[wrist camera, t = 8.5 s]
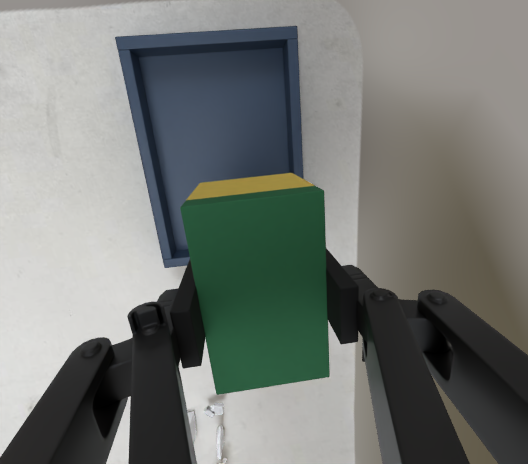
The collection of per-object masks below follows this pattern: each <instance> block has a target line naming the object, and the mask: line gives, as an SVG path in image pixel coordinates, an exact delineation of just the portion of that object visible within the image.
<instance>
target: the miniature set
mask: <svg viewBox="0 0 528 464" xmlns="http://www.w3.org/2000/svg"><path fill="white" fill-rule="evenodd" d="M187 413H188V419H189V424H190V429H191V435H192V440H193V444H194V441H195V438H196V434H197V432H196V422H195V412H194V411H192V412H187ZM204 413H205V414H206V415H208V416H209V417H211V418H212V417H213V416H214V415H223V413H224V404H223V403H215V404H214V405H212V406H211V407H210V406H207V407H206V408H205V409H204ZM216 445H217V457H218V459H219V460H220V459H221V458H222V455H221V453H222V448H223V445H224V431H223V427H222V425H220V426H218V428H217V440H216ZM226 462H227V459H226V458H224V459H223V462H222V463H220V464H226ZM217 464H218V463H217Z"/></svg>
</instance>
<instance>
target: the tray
mask: <svg viewBox="0 0 528 464" xmlns="http://www.w3.org/2000/svg"><path fill="white" fill-rule="evenodd" d="M115 39H116V44H117V48H118V50H119V51H118V52H119V57H120V62H121V66H122V71H123V76H124V80H125V85H126V90H127V94H128V99H129V104H130V108H131V113H132V118H133V122H134V127H135V132H136V136H137V141H138V146H139V150H140V155H141V160H142V164H143V169H144V174H145V178H146V183H147V188H148V192H149V197H150V202H151V206H152V211H153V216H154V220H155V225H156V230H157V234H158V239H159V244H160V248H161V253H162V258H163V263H164V267H165V268H169V267H177V266H186V265H188V262H189V260H190V256H189V251H188V245H187V240H186V235H185V230H184V225H183V220H182V215H181V210H180V207H181V206H182V205H183V203H184V202H185V201H186V199H187V198H188V197H189V196H190V195H191V193H192V192H193V191H194V190H195V188H196V187H197V186H198V185H199V184H200V183H203V182H212V181H221V180H230V179H239V178H248V177H258V176H267V175H276V174H285V173H293V174H295V175H297V176H298V177H300V178H302V179H303V158H302V133H301V109H300V84H299V60H298V40H297V39H298V34H297V26H288V27H271V28H255V29H238V30H222V31H205V32H189V33H172V34H156V35H139V36H123V37H115Z"/></svg>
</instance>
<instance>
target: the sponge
mask: <svg viewBox="0 0 528 464" xmlns="http://www.w3.org/2000/svg"><path fill="white" fill-rule="evenodd" d="M180 210H181V215H182V220H183V225H184V230H185V235H186V240H187V245H188V251H189V256H190V261H191V266H192V271H193V276H194V281H195V286H196V290H197V295H198V300H199V306H200V311H201V316H202V321H203V326H204V331H205V338H206V343H207V348H208V353H209V358H210V363H211V368H212V374H213V379H214V384H215V389H216V394H217V395H219V394H225V393H231V392H237V391H244V390H250V389H256V388H262V387H269V386H275V385H281V384H287V383H294V382H300V381H306V380H312V379H319V378H325V377H329V342H328V319H327V286H326V240H325V207H324V190H322V189H320V188H318V187H316V186H315V185H313V184H311V183H309V182H308V181H306V180H304V179H302V178H300V177H298V176H297V175H295V174H293V173H285V174H276V175H267V176H258V177H248V178H239V179H230V180H221V181H212V182H203V183H200V184H199V185H198V186H197V187H196V188H195V190H194V191H193V192H192V193H191V195H190V196H189V197H188V198H187V199H186V201H185V202H184V203H183V205H182V206H181V207H180Z"/></svg>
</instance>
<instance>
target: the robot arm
mask: <svg viewBox="0 0 528 464" xmlns="http://www.w3.org/2000/svg"><path fill="white" fill-rule="evenodd" d="M326 286H327V319H328V320H329V322H330V324H331V326H332V328H333V330H334V332H335V334H336V336H337V338H338V340H339V341H340V343H341V344H346V343H353V342H358V331H359V332H360V334H361V335H362V337H363V351H362V354H363V355H362V361H363V362H365V364H366V369H367V376H368V381H369V387H370V393H371V399H372V405H373V411H374V417H375V422H376V428H377V434H378V440H379V446H380V451H381V457H382V463H383V464H470V463H469V461H468V459H467V457H466V454H465V452H464V450H463V447H462V445H461V443H460V440H459V438H458V436H457V433H456V431H455V429H454V426H453V424H452V422H451V419H450V417H449V415H448V413H447V410H446V408H445V406H444V403H443V401H442V399H441V396H440V394H439V392H438V390H437V387H436V385H435V383H434V381H433V378H434V379H435V380H436V382H437V383H438V384H439V386H440V387H441V388H442V390H443V391H444V392H445V394H446V395H447V396H448V397H449V399H450V400H451V401H452V403H453V404H454V405H455V407H456V408H457V409H458V410H459V412H460V413H461V415H462V416H463V417H464V419H465V420H466V421H467V423H468V424H469V425H470V427H471V428H472V429H473V431H474V432H475V433H476V435H477V436H478V437H479V439H480V440H481V441H482V442H483V444H484V445H485V446H486V448H487V449H488V451H489V452H490V453H491V454H492V456H493V457H494V459H495V460H496V461H497V462H498V464H528V355H527V354H526V353H524V352H523V351H522V350H520V349H519V348H518V347H517V346H515V345H514V344H513V343H511V342H510V341H509V340H508V339H506V338H505V337H504V336H503V335H501V334H500V333H499V332H498V331H496V330H495V329H494V328H492V327H491V326H490V325H489V324H487V323H486V322H485V321H484V320H482V319H481V318H480V317H479V316H477V315H476V314H475V313H474V312H472V311H471V310H470V309H468V308H467V307H466V306H464V305H463V304H462V303H461V302H460V301H458V300H457V299H456V298H455V297H453V296H451V295H450V294H448V293H445V292H442V291H439V290H425V291H421V292H420V293H419V294H418V301H416V300H400V299H398V297H397V296H396V295H395V293H393V292H391V291H389V290H386V289H382V288H378V287H377V286H376V285H375V284H374V283H373V282H372V281H371V280H370V279H369V278H368V277H367V276H366V275H365V274H364V273H363V272H362V271H361V270H360V269H359V268H357V267H355V266H353V265H345V266H341V265H340V264H339V263H338V261H337V260H336V259H335V258H334V257H333V256H332V254H331V253H330V252H329V251H328V250H327V249H326ZM127 317H128V320H129V323H130V327H131V330H132V334H133V338H131V339H129V340H126V341H124V342H121V343H118V344H115V345H112V344H111V342H110V340H109V339H108V338H104V337H103V338H95V339H91V340H89V341H86V342H84V343H83V344H81V345H80V346H78V347H77V348H76V349H75V350H74V351H73V352H72V353H71V355H70V356H69V358H68V359H67V360H66V362H65V363H64V365H63V366H62V368H61V369H60V371H59V372H58V374H57V375H56V377H55V378H54V380H53V381H52V382H51V384H50V385H49V387H48V388H47V390H46V391H45V393H44V394H43V396H42V397H41V399H40V400H39V402H38V403H37V404H36V406H35V407H34V409H33V410H32V412H31V413H30V415H29V416H28V418H27V419H26V421H25V422H24V424H23V425H22V426H21V428H20V429H19V431H18V432H17V434H16V435H15V437H14V438H13V440H12V441H11V443H10V444H9V446H8V447H7V448H6V450H5V451H4V453H3V454H2V456H1V457H0V464H106V462H107V459H108V456H109V453H110V450H111V447H112V444H113V441H114V438H115V435H116V432H117V429H118V426H119V423H120V421H121V418H122V415H123V412H124V409H125V406H126V403H127V400H128V397H129V396H131V407H130V439H129V464H197V461H196V456H195V451H194V445H193V440H192V435H191V429H190V424H189V419H188V413H187V408H186V402H185V397H184V392H183V386H182V381H181V376H180V371H179V367H178V366H179V362H180V358H181V363H182V367H183V368H189V367H196V366H201V363H202V356H203V350H204V343H205V331H204V326H203V321H202V316H201V311H200V306H199V300H198V295H197V290H196V286H195V281H194V276H193V271H192V266H191V261H190V260H189V262H188V265H187V268H186V270H185V273H184V276H183V278H182V281H181V284H180V286H179V289H172V290H166V291H165V292H164V293H163V294H162V295H160V297H159V299H158V301H157V302H148V303H144V304H142V305H139V306H137V307H135V308H134V309H132V310H131V311H130V312H129V314H128V316H127ZM431 375H432V376H433V378H432V376H431Z"/></svg>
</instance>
